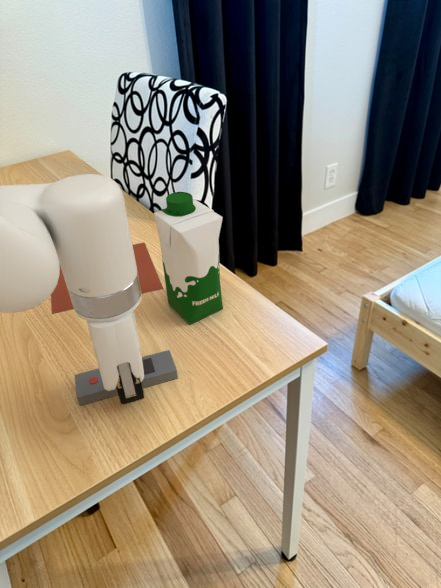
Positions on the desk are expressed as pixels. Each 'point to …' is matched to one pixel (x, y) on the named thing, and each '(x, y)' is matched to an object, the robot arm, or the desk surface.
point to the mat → (145, 274)
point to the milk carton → (190, 256)
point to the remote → (93, 390)
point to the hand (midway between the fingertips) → (132, 397)
